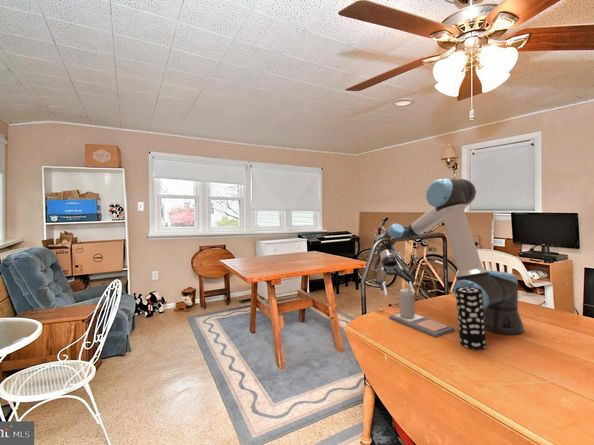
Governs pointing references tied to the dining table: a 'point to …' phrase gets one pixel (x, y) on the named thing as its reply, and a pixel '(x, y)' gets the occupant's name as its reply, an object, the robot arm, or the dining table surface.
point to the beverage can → (407, 303)
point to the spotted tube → (471, 317)
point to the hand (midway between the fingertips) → (399, 295)
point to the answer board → (424, 324)
